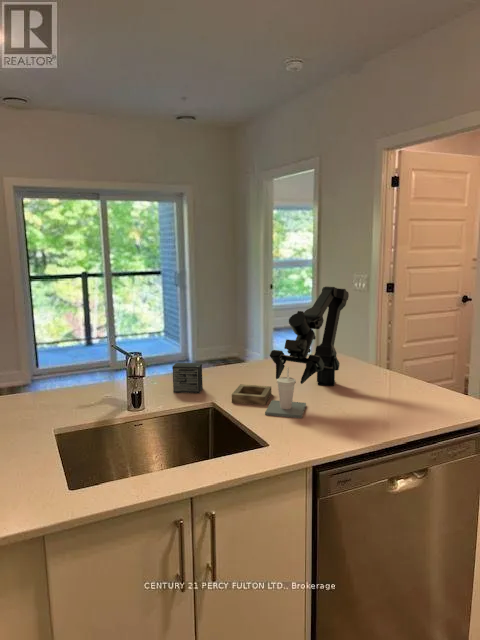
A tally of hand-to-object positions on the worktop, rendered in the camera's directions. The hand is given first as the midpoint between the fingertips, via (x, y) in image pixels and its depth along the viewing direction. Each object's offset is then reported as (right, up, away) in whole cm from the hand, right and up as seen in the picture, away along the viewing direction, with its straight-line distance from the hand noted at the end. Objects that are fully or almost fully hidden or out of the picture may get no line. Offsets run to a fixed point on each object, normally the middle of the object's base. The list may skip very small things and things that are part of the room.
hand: (288, 381), depth 156 cm
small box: (-36, -7, +22) cm, 43 cm away
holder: (-12, -8, +12) cm, 19 cm away
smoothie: (-1, -9, 0) cm, 9 cm away
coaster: (-1, -10, 0) cm, 10 cm away
